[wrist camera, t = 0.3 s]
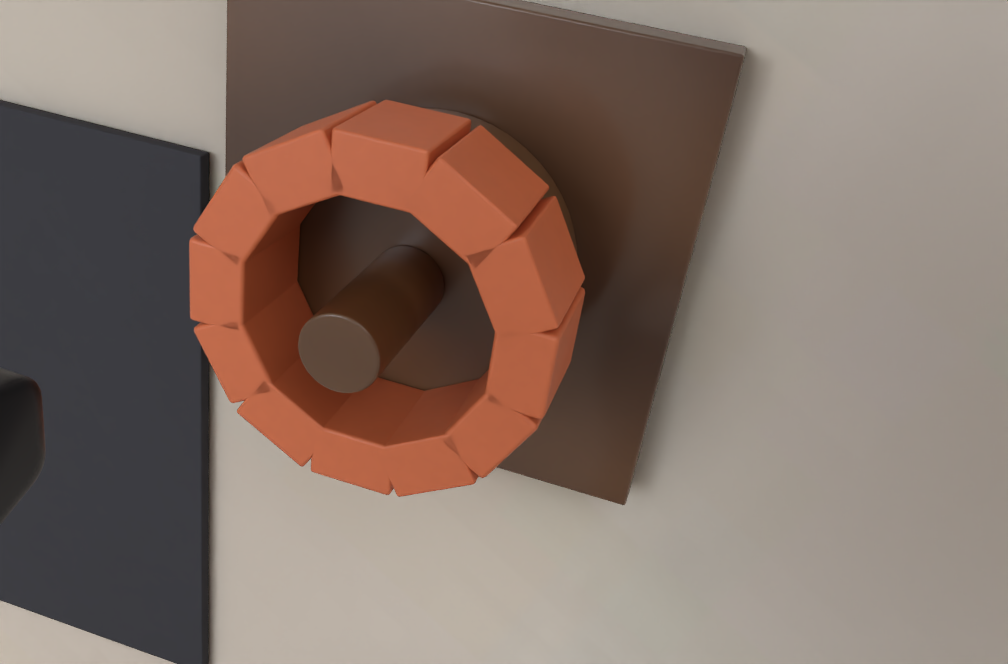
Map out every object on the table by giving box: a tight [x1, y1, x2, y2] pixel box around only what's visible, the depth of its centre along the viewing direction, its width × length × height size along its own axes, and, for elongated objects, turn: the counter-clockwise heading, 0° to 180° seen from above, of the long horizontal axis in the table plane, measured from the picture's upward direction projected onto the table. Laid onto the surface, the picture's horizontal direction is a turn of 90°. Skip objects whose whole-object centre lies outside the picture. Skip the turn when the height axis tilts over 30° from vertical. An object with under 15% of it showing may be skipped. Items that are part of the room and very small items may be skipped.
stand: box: [226, 0, 747, 505], centre depth 20 cm, size 11×11×6 cm
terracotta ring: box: [189, 100, 585, 497], centre depth 19 cm, size 7×7×2 cm
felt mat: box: [0, 100, 209, 664], centre depth 28 cm, size 18×10×1 cm, turn 171°
